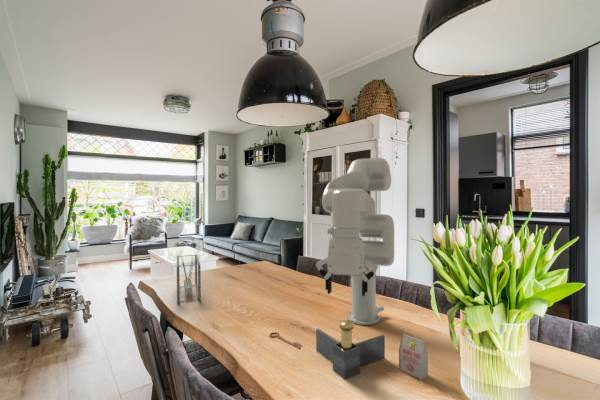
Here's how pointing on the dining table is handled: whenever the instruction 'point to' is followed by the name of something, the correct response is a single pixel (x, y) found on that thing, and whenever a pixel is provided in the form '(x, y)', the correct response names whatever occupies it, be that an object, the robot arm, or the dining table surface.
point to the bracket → (350, 353)
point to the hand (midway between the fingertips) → (346, 293)
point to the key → (287, 341)
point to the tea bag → (413, 357)
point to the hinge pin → (346, 334)
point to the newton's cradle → (187, 281)
